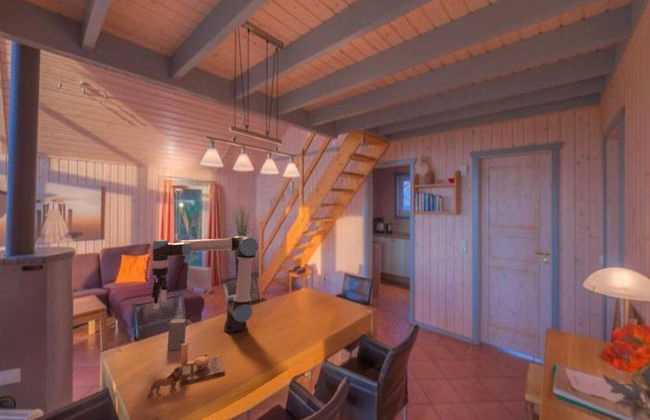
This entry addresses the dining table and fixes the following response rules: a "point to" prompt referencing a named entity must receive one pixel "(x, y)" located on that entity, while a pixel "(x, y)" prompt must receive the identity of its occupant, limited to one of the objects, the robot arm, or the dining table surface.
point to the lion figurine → (167, 381)
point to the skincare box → (176, 334)
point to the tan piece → (197, 362)
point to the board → (202, 371)
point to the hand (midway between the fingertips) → (159, 304)
